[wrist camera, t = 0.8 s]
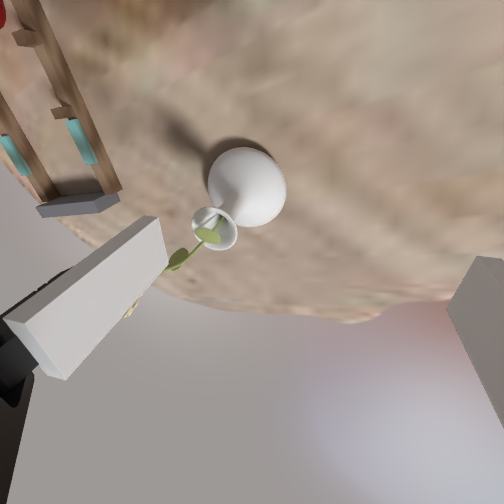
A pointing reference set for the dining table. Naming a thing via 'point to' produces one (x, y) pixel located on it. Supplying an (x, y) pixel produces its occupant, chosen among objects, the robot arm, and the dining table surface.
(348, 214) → the dining table surface
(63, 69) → the comb channel
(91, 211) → the end stop
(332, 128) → the dining table surface
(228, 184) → the flower in vase
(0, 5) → the plastic cup
